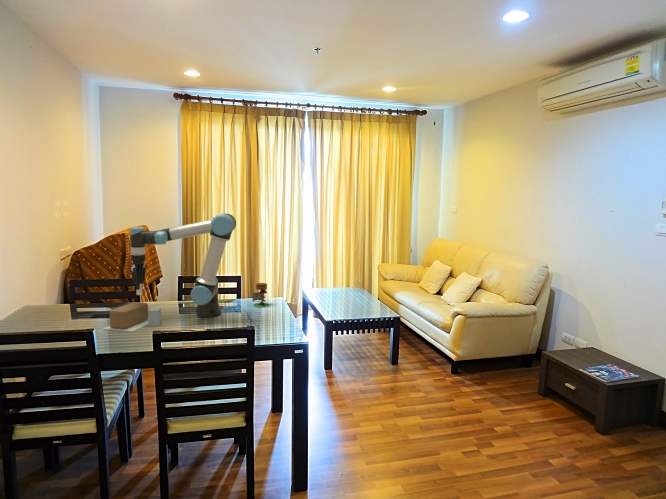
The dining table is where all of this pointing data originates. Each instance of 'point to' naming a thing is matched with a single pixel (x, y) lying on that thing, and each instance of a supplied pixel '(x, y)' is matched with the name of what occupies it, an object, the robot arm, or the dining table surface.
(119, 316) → the wooden block
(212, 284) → the robot arm
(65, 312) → the dining table surface
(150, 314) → the light grey block
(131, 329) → the mat
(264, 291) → the figurine on green base
